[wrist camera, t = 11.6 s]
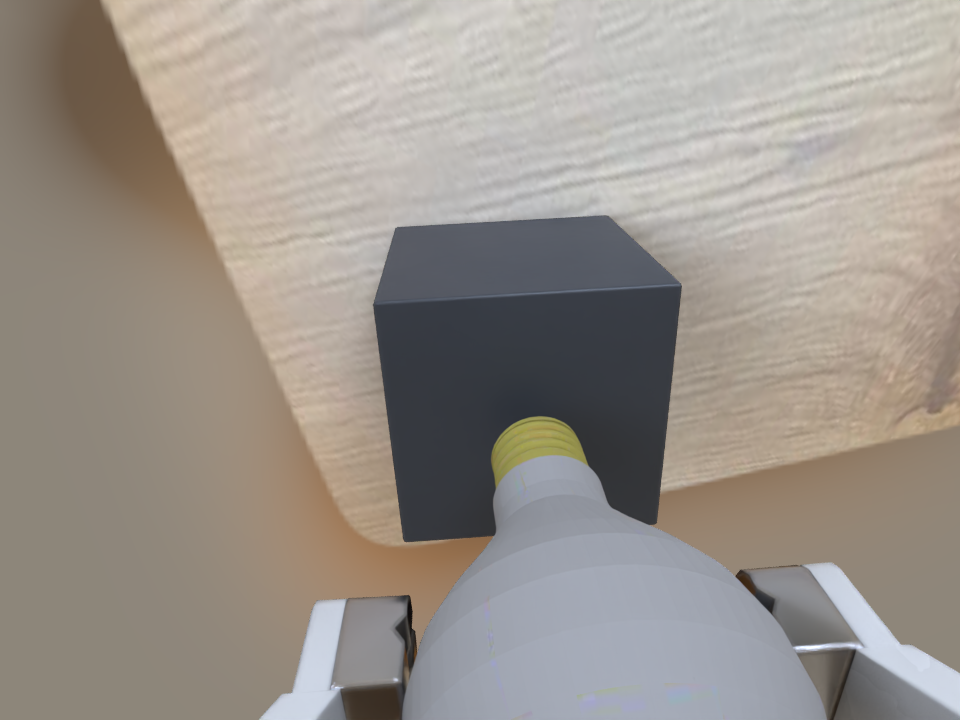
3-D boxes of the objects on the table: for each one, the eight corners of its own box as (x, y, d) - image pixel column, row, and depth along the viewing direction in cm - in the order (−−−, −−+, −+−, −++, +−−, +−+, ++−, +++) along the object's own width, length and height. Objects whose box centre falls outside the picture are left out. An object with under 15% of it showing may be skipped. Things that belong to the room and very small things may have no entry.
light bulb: (691, 405, 15) (1094, 952, 6) (557, 556, 16) (698, 1152, 7) (501, 290, 13) (633, 788, 4) (378, 471, 15) (280, 1091, 6)
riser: (414, 412, 23) (403, 544, 17) (394, 226, 20) (372, 302, 14) (599, 400, 23) (657, 525, 17) (608, 214, 20) (683, 283, 14)
